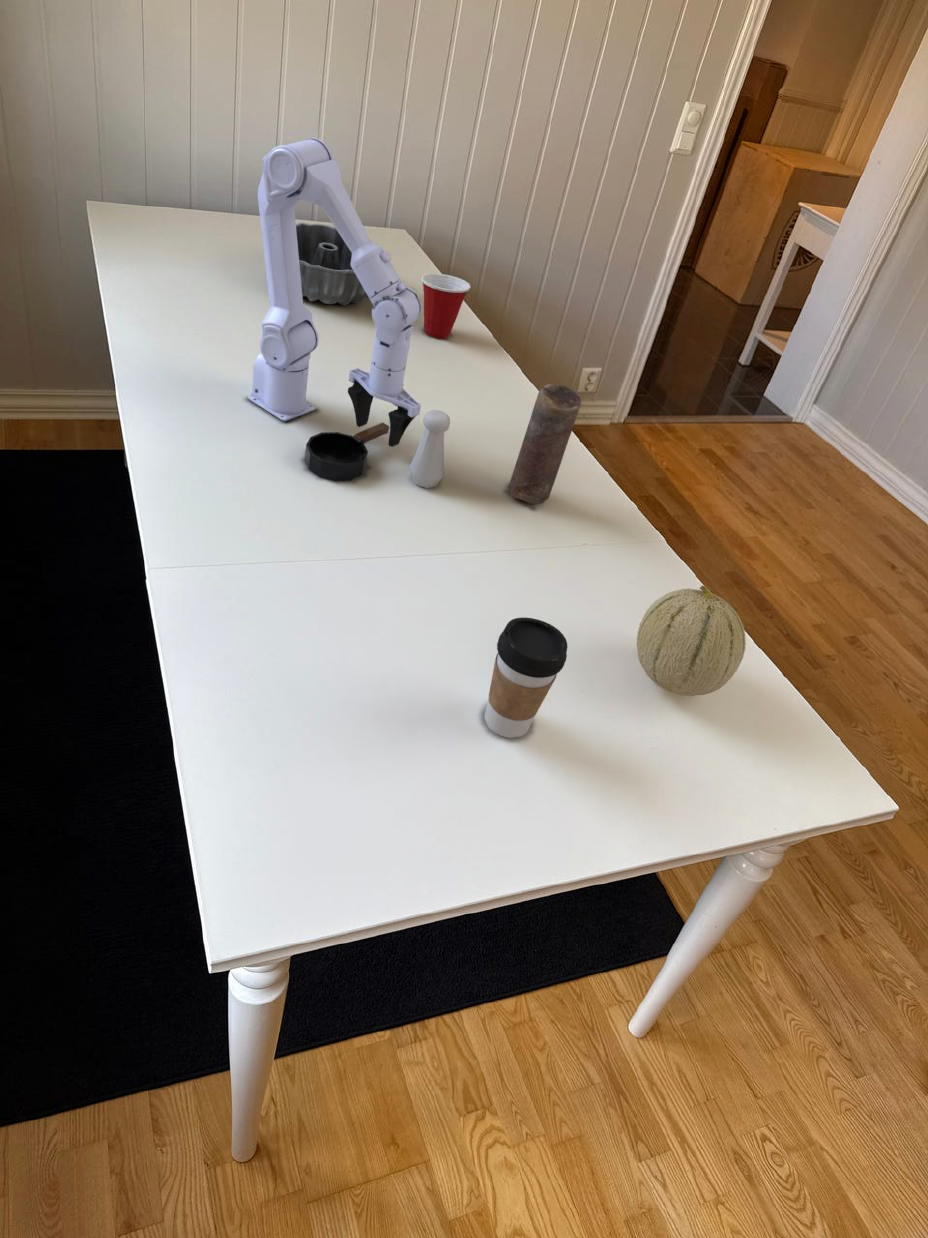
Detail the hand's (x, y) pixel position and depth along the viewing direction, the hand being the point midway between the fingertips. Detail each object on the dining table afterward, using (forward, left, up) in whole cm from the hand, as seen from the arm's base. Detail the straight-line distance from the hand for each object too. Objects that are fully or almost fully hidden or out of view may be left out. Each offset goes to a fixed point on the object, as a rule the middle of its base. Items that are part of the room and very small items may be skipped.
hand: (377, 434), depth 154 cm
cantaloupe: (+66, -10, -2) cm, 67 cm away
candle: (+26, +11, -2) cm, 29 cm away
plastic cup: (-25, +48, -2) cm, 54 cm away
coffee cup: (+54, -35, -2) cm, 65 cm away
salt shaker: (+12, -1, -2) cm, 13 cm away
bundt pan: (-53, +41, -2) cm, 66 cm away
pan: (0, -7, -2) cm, 7 cm away
